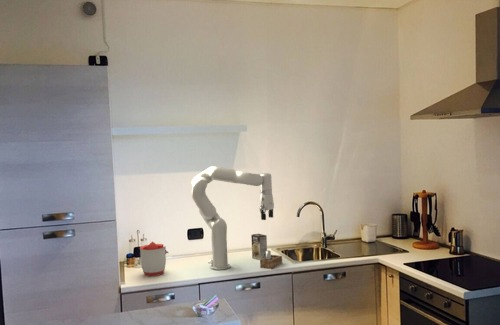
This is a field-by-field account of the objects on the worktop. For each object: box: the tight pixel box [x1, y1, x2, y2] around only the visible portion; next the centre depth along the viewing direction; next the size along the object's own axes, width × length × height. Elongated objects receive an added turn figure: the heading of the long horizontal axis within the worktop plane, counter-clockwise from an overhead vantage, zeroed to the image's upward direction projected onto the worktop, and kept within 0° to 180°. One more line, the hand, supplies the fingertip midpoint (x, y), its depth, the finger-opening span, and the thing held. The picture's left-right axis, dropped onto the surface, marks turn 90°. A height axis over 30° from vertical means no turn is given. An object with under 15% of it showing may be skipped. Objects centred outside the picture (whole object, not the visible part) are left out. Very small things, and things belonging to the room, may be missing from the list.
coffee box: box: [251, 233, 268, 261], centre depth 314 cm, size 9×6×16 cm
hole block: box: [259, 254, 283, 270], centre depth 295 cm, size 8×14×5 cm, turn 149°
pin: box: [266, 250, 272, 260], centre depth 292 cm, size 3×3×10 cm
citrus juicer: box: [139, 241, 169, 277], centre depth 288 cm, size 16×17×20 cm
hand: (267, 218), depth 304 cm, fingers open, 9 cm apart
